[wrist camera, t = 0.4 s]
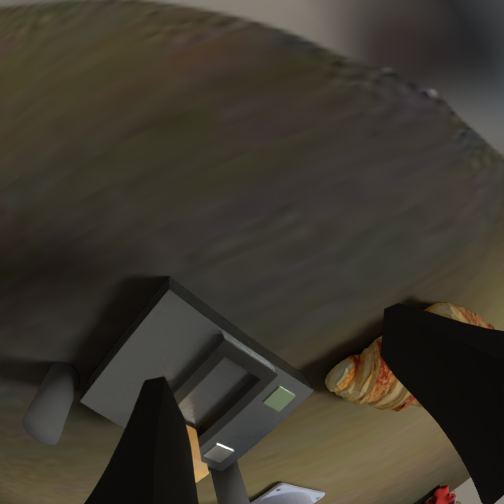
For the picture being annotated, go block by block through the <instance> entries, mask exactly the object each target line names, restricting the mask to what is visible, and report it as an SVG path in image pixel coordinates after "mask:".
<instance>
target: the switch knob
mask: <svg viewBox="0 0 504 504" xmlns="http://www.w3.org/2000/svg"><path fill="white" fill-rule="evenodd" d="M186 426H187V430H188V435H189V439H190V444H191V449H192V457H193V466H194V474H195V482H196V483H197V482H198V481H200V480H201V479H202V478H204V477H205V476H206V475H208V474H209V471H208V467H207V464H206V463H204V462H202V461H201V455H200V450H199V444H198V438H197V432H196V429H194V428H192V427H190V426H188V425H186Z"/></svg>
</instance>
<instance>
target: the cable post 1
mask: <svg viewBox="0 0 504 504" xmlns="http://www.w3.org/2000/svg"><path fill="white" fill-rule="evenodd" d="M79 382H80V379H79V375H78V373H77V372H76V370H75V369H74V368H73V367H72V366H70V365H68V364H66V363H63V362H56V363H54V364H53V365H52V366H51V367H50V369H49V371H48V373H47V374H46V376H45V378H44V380H43V382H42V384H41V385H40V387H39V389H38V391H37V393H36V395H35V397H34V399H33V401H32V402H31V404H30V406H29V408H28V410H27V412H26V414H25V416H24V419H23V426H24V429H25V430H26V432H27V433H28V434H29V435H30V436H31V437H32V438H34V439H35V440H36V441H38V442H40V443H43V444H46V445H55V444H57V443H58V442H59V439H60V436H61V433H62V430H63V427H64V424H65V421H66V418H67V415H68V412H69V410H70V407H71V404H72V401H73V399H74V396H75V393H76V391H77V388H78V385H79Z"/></svg>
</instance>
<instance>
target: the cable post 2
mask: <svg viewBox="0 0 504 504" xmlns="http://www.w3.org/2000/svg"><path fill="white" fill-rule="evenodd" d="M210 470H211V474H212V479H213V483H214V488H215V492H216V496H217V501H218V504H250V501H249V498H248V495H247V492H246V489H245V486H244V482H243V479H242V476H241V473H240V470H239V467H238V463H237V460H236V461H235V462H234V463H232V464H231V465H230V466H228V467H227V468H226V469H224V470H223V471H219V470H216V469H213V468H211V467H210Z"/></svg>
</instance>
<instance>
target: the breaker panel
mask: <svg viewBox="0 0 504 504" xmlns="http://www.w3.org/2000/svg"><path fill="white" fill-rule="evenodd" d="M163 376H165V378H166V380H167V382H168V384H169V387H170V389H171V391H172V393H173V395H174V398H175V400H176V402H177V404H178V406H179V408H180V410H181V412H182V414H183V416H184V418H185V422H186V425H188V426H190V427H192V428H194V429H196V432H197V438H198V444H199V450H200V455H201V461H202V462H204V463H206V464H207V466H208V467H211V468H213V469H216V470H219V471H223V470H224V469H226V468H227V467H228V466H230V465H231V464H232V463H234V462H235V461H236V460H237V459H239V458H240V457H241V456H242V455H244V454H245V453H246V452H247V451H248V450H250V449H251V448H252V447H253V446H254V445H256V444H257V443H258V442H259V441H260V440H262V439H263V438H264V437H265V436H266V435H267V434H268V433H270V432H271V431H272V430H273V429H274V428H275V427H276V426H277V425H279V424H280V423H281V422H282V421H283V420H284V419H285V418H286V417H287V416H288V415H290V414H291V413H292V412H293V411H294V410H295V409H296V408H297V407H298V406H299V405H300V404H301V403H302V402H303V401H304V400H305V399H306V398H307V397H308V396H309V395H310V394H311V393H312V392H313V391H314V389H313V388H312V387H311V385H310V384H309V383H308V381H307V380H306V378H305V377H304V376H303V374H302V373H301V372H300V371H298V370H297V369H295V368H294V367H293V366H291V365H290V364H288V363H287V362H285V361H284V360H282V359H281V358H279V357H278V356H276V355H275V354H273V353H272V352H271V351H269V350H268V349H266V348H265V347H263V346H262V345H261V344H259V343H258V342H256V341H255V340H254V339H252V338H251V337H249V336H248V335H247V334H245V333H244V332H242V331H241V330H240V329H238V328H237V327H236V326H234V325H233V324H231V323H230V322H229V321H227V320H226V319H225V318H223V317H222V316H221V315H219V314H218V313H217V312H215V311H214V310H213V309H211V308H210V307H209V306H207V305H206V304H205V303H203V302H202V301H201V300H199V299H198V298H197V297H196V296H194V295H193V294H192V293H190V292H189V291H188V290H187V289H185V288H184V287H183V286H182V285H180V284H179V283H178V282H176V281H175V280H174V279H173V278H171V277H170V276H169V278H168V279H167V280H166V281H165V282H164V284H163V285H162V286H161V287H160V288H159V290H158V291H157V292H156V293H155V294H154V296H153V297H152V298H151V299H150V301H149V302H148V303H147V304H146V306H145V307H144V308H143V309H142V310H141V312H140V313H139V314H138V315H137V317H136V318H135V319H134V320H133V322H132V323H131V324H130V325H129V327H128V328H127V329H126V331H125V332H124V333H123V334H122V336H121V337H120V338H119V339H118V341H117V342H116V343H115V345H114V346H113V347H112V348H111V350H110V351H109V352H108V354H107V355H106V356H105V358H104V359H103V360H102V361H101V363H100V364H99V365H98V367H97V368H96V369H95V371H94V372H93V373H92V375H91V376H90V377H89V379H88V380H87V382H86V385H85V388H84V391H83V394H82V397H81V400H80V402H81V403H83V404H85V405H86V406H88V407H89V408H91V409H92V410H94V411H96V412H97V413H99V414H101V415H102V416H104V417H106V418H107V419H109V420H111V421H112V422H114V423H116V424H118V425H120V426H121V427H123V428H126V425H127V423H128V421H129V418H130V416H131V413H132V411H133V408H134V406H135V403H136V401H137V398H138V396H139V393H140V390H141V388H142V385H143V383H144V381H145V380H148V379H153V378H158V377H163Z"/></svg>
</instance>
